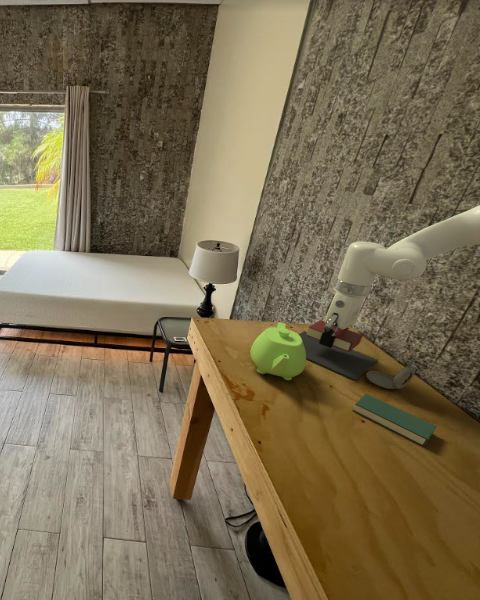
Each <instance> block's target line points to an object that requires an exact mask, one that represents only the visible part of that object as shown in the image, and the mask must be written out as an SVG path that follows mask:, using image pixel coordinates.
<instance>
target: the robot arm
mask: <svg viewBox="0 0 480 600" xmlns="http://www.w3.org/2000/svg"><path fill="white" fill-rule="evenodd" d="M475 245H477V246H478V245H480V204H479V205H477V206H475V207H473V208H470V209H469V210H466V211H463V212H460V213H458V214H456V215H453V216H451V217H449V218H447V219H444V220H441V221H439V222H436V223H433V224H432V225H429V226H427V227H425V228H422V229H420V230H418V231H417V232H415V233H412V234H411V235H408V236H407V237H404V238H402V239H400V240H398V241H397V242H394V243H392V244H391V245H390V246H388V248H386V247H385V245H383V244H381V243H378V242H372V241H363V240H362V241H361V240H360V241H354V242H352V243H350V244H349V245H348V247H347V250H346V253H345V255H344V259H343V261H342V264H341V267H340V269H339V272H338V275H337V278H336V281H335V283H334V286H333V291H334V292H335V294H334V296H333V298H332V301H331V303H330V306H329V307H328V310H327V313H326V316H325V319H324V322H325V323H326V325H325V328H324V330H323V333H322V336H321V338H320V341H319V344H321V345H324V346H326V347H329V348H331V347H332V346H333V343H334V341H335V338H336V336H335V335H336V333H337V331H338V329H339V328H341V329H342V330H343V329H347V330H349V327H351V326H352V325H354V324H355V323H356V322H357V320H358V318H359V315H360V312H361V309H362V307H363V303H364V300H365V298H367V297H368V296H369V293H370V291H371V289H372V287H373V283H374V281H375V279H376V276H377V275H378V276H382V277H385V278H389V279H391V280H397V281H411V280H414V279H416V278H419V277H420V276H421V275H423V274H424V273H425V271H426V269H427V261H429V260H430V259H433V258H435V257H437V256H439V255H442V254H444V253H446V252H447V253H448V252H450V251H453V250H456V249H460V248H464V247H467V246H475ZM332 327H334V328H335V330H334V331H333V329H332Z"/></svg>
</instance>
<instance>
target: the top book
mask: <svg viewBox="0 0 480 600" xmlns="http://www.w3.org/2000/svg"><path fill="white" fill-rule="evenodd" d="M325 325H326V323H325V320H321V319H319V320H317V321H316V322H314V323H313V324H311V325H309V326H308V328H307V331H306V332H307V334H306V335H307V336H309V337H312V338H314V339H317V340H319V341H320V338H321V336H322V333H323V330H324V328H325ZM332 329H333V331H334V330H335V328H334V327H332ZM335 336H336V338H335V341H334V343H333V346H334V347H337V348H339V349H342V350H344V351H347V352H350V351H351V350H354V349H355V348H356V347H357V346H358V345H360V343H361V341H362V338H363V336H364V334H361V333H358V332H355V331H352V330H350V329H348V330H347V329H343V330H342V329H341V328H339V329H338V331H337V333H336V335H335Z"/></svg>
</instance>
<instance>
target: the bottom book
mask: <svg viewBox="0 0 480 600" xmlns="http://www.w3.org/2000/svg"><path fill="white" fill-rule="evenodd" d="M352 411H353V412H355V413H356V414H358V415H360V416H362V417H364V418H366V419H368V420H370V421H372V422H374V423H375V424H378V425H379V426H382V427H384V428H386V429H388V430H390V431H392V432H394V433H396V434H398V435H400V436H401V437H403V438H406V439H407V440H408V441H409V440H410V441H411V442H413V443H415V444H417V445H419V446H421V447H424V448H425V447H426V445H427V443H428V441H429V440H430V438H431V437H432V435H433V433H434V432H435V431H436V428H437V427H438V426H437V425H435V424H433V423H431V422H429V421H427V420H424V419H423V418H420V417H418V416H417V415H414V414H411V413H409V412H407V411H405V410H403V409H400V408H398V407H396V406H394V405H391V404H389V403H388V402H385V401H383V400H381V399H379V398H377V397H374V396H372V395H370V394H368V393H365V394H364V395H363V396H361V398H360V399H358V401H357V402H356V403H355V404H354V406H353V409H352Z"/></svg>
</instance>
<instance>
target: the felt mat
mask: <svg viewBox="0 0 480 600" xmlns="http://www.w3.org/2000/svg"><path fill="white" fill-rule="evenodd" d="M306 334H307V331H306V330H304V331H302V332H300V333H298V335H299V336H300V337H301V339H302V341H303V344H304V347H305V352H306V361H308V362H311V363H313V364H316V365H318V366H319V367H322V368H324V369H327V370H328V371H331V372H333V373H336V374H338V375H340V376H342V377H345V379H346V378H347V379H349V380H351V381H353V382H357V381H358V380H359V379H360V378H361V377H363V375H364V374H366V373H367V372H369V370H370V369H371V368H372V367H373V366H374V365H376V363H377V362H378V361H379V359H377V358H375V357H373V356H369V355H367V354H365V353H362V352H359V351H357V350H355V349H352V350H351V351H350V352H347V351H344V350H342V349H339V348H337V347H334V346H332V347H331V348H329V347H326V346H324V345H321V344H319V340H317V339H314V338H312V337H309V336H307V335H306Z"/></svg>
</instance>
